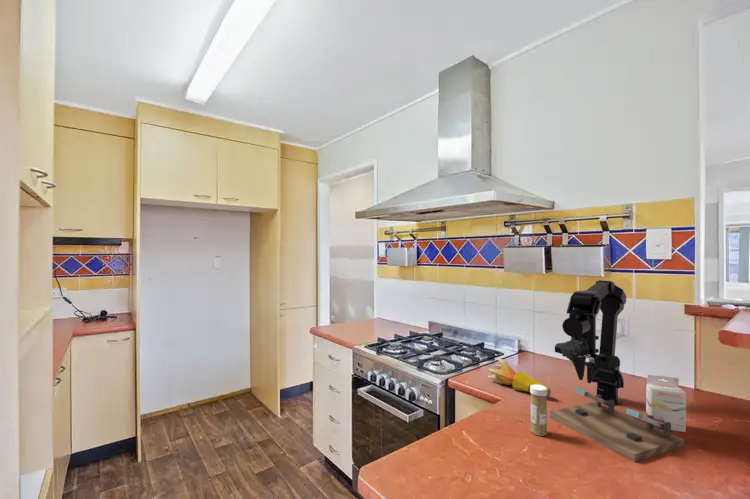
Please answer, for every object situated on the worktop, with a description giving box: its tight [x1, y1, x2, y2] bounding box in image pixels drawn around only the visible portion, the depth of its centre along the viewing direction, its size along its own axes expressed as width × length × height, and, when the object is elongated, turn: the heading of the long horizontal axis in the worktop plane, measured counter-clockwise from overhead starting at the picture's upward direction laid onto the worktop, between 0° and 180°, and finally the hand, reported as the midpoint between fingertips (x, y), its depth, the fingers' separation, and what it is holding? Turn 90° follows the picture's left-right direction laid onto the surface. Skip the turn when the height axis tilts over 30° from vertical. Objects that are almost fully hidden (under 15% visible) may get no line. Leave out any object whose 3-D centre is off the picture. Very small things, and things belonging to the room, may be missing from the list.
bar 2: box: [625, 408, 664, 431], centre depth 100 cm, size 13×3×1 cm, turn 111°
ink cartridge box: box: [645, 374, 687, 433], centre depth 109 cm, size 9×5×15 cm, turn 71°
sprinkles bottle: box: [529, 385, 548, 437], centre depth 105 cm, size 5×5×14 cm
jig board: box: [549, 394, 685, 463], centre depth 106 cm, size 20×26×6 cm
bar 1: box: [574, 387, 608, 407], centre depth 115 cm, size 13×3×1 cm, turn 111°
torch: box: [487, 357, 551, 397], centre depth 138 cm, size 8×8×25 cm
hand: (585, 381), depth 114 cm, fingers open, 3 cm apart
